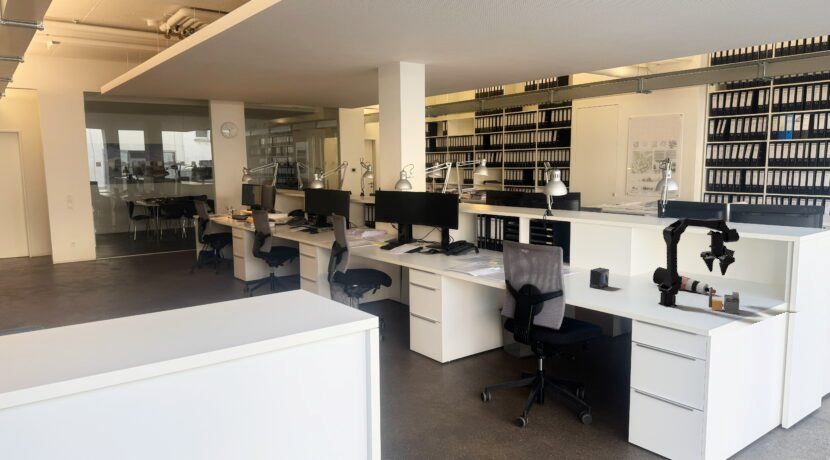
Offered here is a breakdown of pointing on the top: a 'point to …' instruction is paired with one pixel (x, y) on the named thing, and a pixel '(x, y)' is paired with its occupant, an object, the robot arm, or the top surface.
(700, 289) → the striped tapered cylinder
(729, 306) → the housing
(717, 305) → the plug
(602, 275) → the small box
